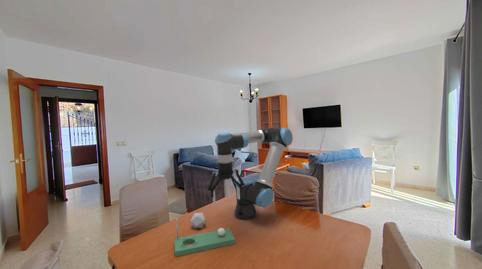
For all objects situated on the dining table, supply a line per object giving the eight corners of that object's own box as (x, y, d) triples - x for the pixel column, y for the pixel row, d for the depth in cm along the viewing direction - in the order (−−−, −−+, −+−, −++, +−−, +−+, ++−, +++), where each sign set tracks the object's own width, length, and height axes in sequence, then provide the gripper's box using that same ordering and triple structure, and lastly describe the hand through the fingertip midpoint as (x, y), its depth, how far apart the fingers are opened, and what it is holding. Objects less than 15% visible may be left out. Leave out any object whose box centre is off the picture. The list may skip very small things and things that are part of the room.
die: (198, 233, 121) (208, 217, 124) (185, 225, 123) (195, 209, 125) (201, 231, 130) (210, 216, 132) (189, 223, 131) (198, 208, 133)
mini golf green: (229, 232, 120) (228, 208, 119) (235, 243, 109) (234, 217, 108) (174, 243, 111) (173, 217, 110) (175, 256, 100) (173, 228, 99)
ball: (224, 232, 115) (223, 225, 115) (225, 236, 111) (225, 229, 111) (216, 234, 114) (216, 227, 114) (218, 238, 110) (218, 230, 110)
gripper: (244, 158, 119) (245, 194, 121) (200, 162, 111) (202, 201, 113) (249, 160, 112) (250, 199, 114) (202, 165, 104) (204, 207, 106)
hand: (226, 200), depth 113 cm, fingers open, 13 cm apart
